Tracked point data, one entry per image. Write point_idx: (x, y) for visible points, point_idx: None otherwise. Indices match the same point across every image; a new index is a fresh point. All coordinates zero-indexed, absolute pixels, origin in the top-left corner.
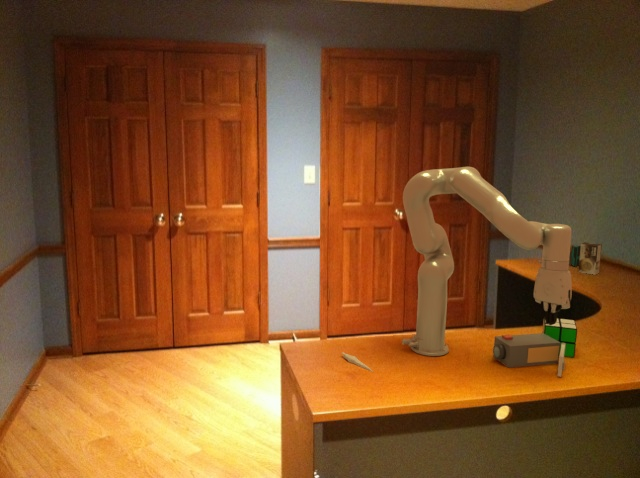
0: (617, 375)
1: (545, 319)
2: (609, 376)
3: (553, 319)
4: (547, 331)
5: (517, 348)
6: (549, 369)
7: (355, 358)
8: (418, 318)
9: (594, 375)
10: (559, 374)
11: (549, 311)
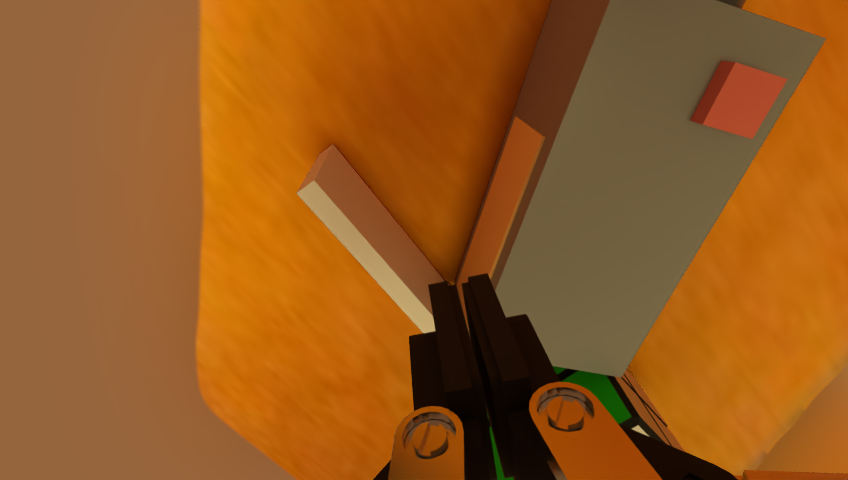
0: (256, 385)
1: (521, 316)
2: (258, 354)
3: (420, 352)
4: (605, 398)
5: (583, 42)
6: (424, 188)
7: None
8: None
9: (287, 312)
10: (324, 152)
11: (506, 415)
